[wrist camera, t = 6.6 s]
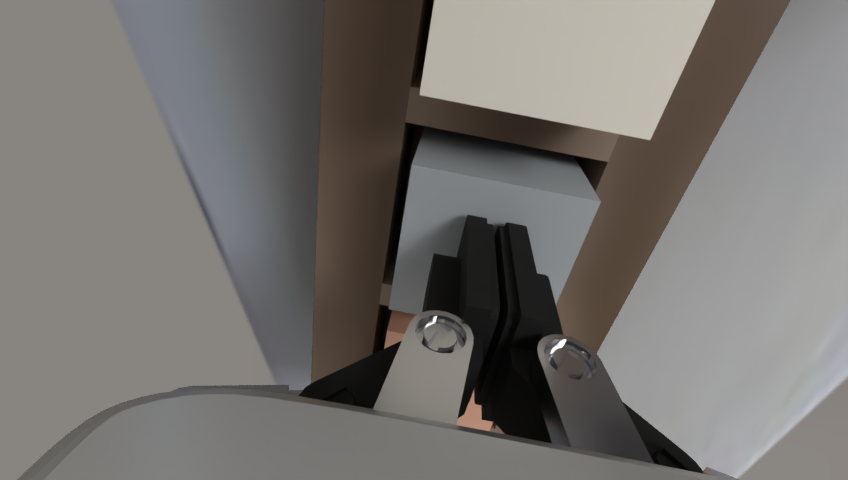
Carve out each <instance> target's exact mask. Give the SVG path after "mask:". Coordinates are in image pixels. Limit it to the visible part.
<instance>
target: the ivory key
mask: <svg viewBox="0 0 848 480" xmlns="http://www.w3.org/2000/svg"><path fill="white" fill-rule="evenodd" d="M714 2H715V0H434V5H433V11H432V18H431V24H430V30H429V37H428V43H427V50H426V56H425V62H424V69H423V75H422V82H421V88H420V95H422V96H427V97H432V98H437V99H442V100H447V101H453V102H458V103H463V104H468V105H473V106H478V107H483V108H488V109H493V110H498V111H504V112H509V113H514V114H519V115H524V116H529V117H534V118H539V119H544V120H549V121H554V122H560V123H565V124H570V125H575V126H580V127H585V128H590V129H595V130H600V131H605V132H610V133H616V134H621V135H626V136H631V137H636V138H641V139H646V140H651V137H652V135H653V133H654V131H655V129H656V127H657V125H658V122H659V120H660V118H661V116H662V114H663V112H664V110H665V107H666V105H667V103H668V101H669V99H670V97H671V95H672V92H673V90H674V88H675V86H676V84H677V82H678V80H679V77H680V75H681V73H682V71H683V69H684V67H685V65H686V62H687V60H688V58H689V56H690V54H691V52H692V50H693V47H694V45H695V43H696V41H697V39H698V37H699V35H700V32H701V30H702V28H703V26H704V24H705V22H706V20H707V17H708V15H709V13H710V11H711V9H712V7H713V5H714Z"/></svg>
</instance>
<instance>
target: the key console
mask: <svg viewBox="0 0 848 480" xmlns="http://www.w3.org/2000/svg"><path fill="white" fill-rule="evenodd" d="M789 2H790V0H715V2H714V5H713V7H712V9H711V11H710V13H709V15H708V17H707V20H706V22H705V24H704V26H703V28H702V30H701V32H700V35H699V37H698V39H697V41H696V43H695V45H694V47H693V50H692V52H691V54H690V56H689V58H688V60H687V62H686V65H685V67H684V69H683V71H682V73H681V75H680V77H679V80H678V82H677V84H676V86H675V88H674V90H673V92H672V95H671V97H670V99H669V101H668V103H667V105H666V107H665V110H664V112H663V114H662V116H661V118H660V120H659V122H658V125H657V127H656V129H655V131H654V133H653V135H652V137H651V140H646V139H641V138H636V137H631V136H626V135H621V134H616V133H610V132H605V131H600V130H595V129H590V128H585V127H580V126H575V125H570V124H565V123H560V122H554V121H549V120H544V119H539V118H534V117H529V116H524V115H519V114H514V113H509V112H504V111H498V110H493V109H488V108H483V107H478V106H473V105H468V104H463V103H458V102H453V101H447V100H442V99H437V98H432V97H427V96H422V95H420V88H421V82H422V75H423V69H424V62H425V56H426V50H427V43H428V37H429V30H430V24H431V18H432V11H433V5H434V0H324V27H323V56H322V85H321V113H320V142H319V171H318V200H317V229H316V258H315V287H314V316H313V345H312V374H311V384H312V383H313V382H315V381H316V380H319V379H321V378H323V377H325V376H327V375H329V374H331V373H334V372H336V371H338V370H340V369H342V368H344V367H346V366H348V365H351V364H353V363H355V362H357V361H359V360H361V359H363V358H366V357H368V356H370V355H372V354H374V353H376V352H378V351H381V350H383V349H384V346H385V340H386V334H387V329H388V325H389V321H390V317H391V313H392V310H390V309H389V303H390V297H391V291H392V284H393V278H394V272H395V266H396V259H397V253H398V247H399V241H400V234H401V228H402V222H403V216H404V209H405V203H406V197H407V190H408V184H409V178H410V172H411V165H412V162H413V159H414V156H415V153H416V151H417V148H418V145H419V142H420V139H421V136H422V133H423V130H424V127H425V126H427V127H432V128H437V129H442V130H447V131H453V132H458V133H463V134H468V135H473V136H478V137H483V138H488V139H493V140H498V141H503V142H509V143H514V144H519V145H524V146H529V147H534V148H539V149H544V150H549V151H554V152H560V153H565V154H570V155H574V157H575V159H576V160H577V162H578V164H579V166H580V167H581V169H582V171H583V172H584V174H585V176H586V177H587V179H588V181H589V182H590V184H591V186H592V187H593V189H594V191H595V192H596V194H597V196H598V198H599V199H600V201H601V203H600V205H599V208H598V210H597V212H596V214H595V217H594V219H593V221H592V224H591V226H590V228H589V230H588V233H587V235H586V237H585V240H584V242H583V244H582V246H581V249H580V251H579V253H578V256H577V258H576V260H575V262H574V265H573V267H572V269H571V272H570V274H569V276H568V278H567V281H566V283H565V285H564V288H563V290H562V292H561V294H560V297H559V299H558V301H557V304H556V307H557V311H558V315H559V319H560V323H561V327H562V331H563V334H564V335H566V336H570V337H573V338H575V339H577V340H580V341H581V342H583V343H584V344H586V345H587V346H589V347H590V348H591V349H592V350H593V351H594V352H595V353H597V351H598V350H599V348H600V346H601V344H602V342H603V341H604V339H605V337H606V335H607V333H608V331H609V330H610V328H611V326H612V324H613V322H614V320H615V319H616V317H617V315H618V313H619V311H620V310H621V308H622V306H623V304H624V302H625V300H626V299H627V297H628V295H629V293H630V291H631V290H632V288H633V286H634V284H635V282H636V280H637V279H638V277H639V275H640V273H641V271H642V269H643V268H644V266H645V264H646V262H647V260H648V259H649V257H650V255H651V253H652V251H653V249H654V248H655V246H656V244H657V242H658V240H659V239H660V237H661V235H662V233H663V231H664V229H665V228H666V226H667V224H668V222H669V220H670V218H671V217H672V215H673V213H674V211H675V209H676V208H677V206H678V204H679V202H680V200H681V198H682V197H683V195H684V193H685V191H686V189H687V188H688V186H689V184H690V182H691V180H692V178H693V177H694V175H695V173H696V171H697V169H698V167H699V166H700V164H701V162H702V160H703V158H704V157H705V155H706V153H707V151H708V149H709V147H710V146H711V144H712V142H713V140H714V138H715V137H716V135H717V133H718V131H719V129H720V127H721V126H722V124H723V122H724V120H725V118H726V116H727V115H728V113H729V111H730V109H731V107H732V106H733V104H734V102H735V100H736V98H737V96H738V95H739V93H740V91H741V89H742V87H743V86H744V84H745V82H746V80H747V78H748V76H749V75H750V73H751V71H752V69H753V67H754V65H755V64H756V62H757V60H758V58H759V56H760V55H761V53H762V51H763V49H764V47H765V45H766V44H767V42H768V40H769V38H770V36H771V35H772V33H773V31H774V29H775V27H776V25H777V24H778V22H779V20H780V18H781V16H782V14H783V13H784V11H785V9H786V7H787V5H788V4H789ZM500 431H501V429H500V428H499V427H498V426H497V425H496V424H495V423H494V422H493V423H492V426H491V428H490V432H495V433H500Z"/></svg>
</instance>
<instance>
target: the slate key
mask: <svg viewBox="0 0 848 480" xmlns="http://www.w3.org/2000/svg"><path fill="white" fill-rule="evenodd" d="M600 203H601V201H600V199H599V198H598V196H597V194H596V192H595V191H594V189H593V187H592V186H591V184H590V182H589V181H588V179H587V177H586V176H585V174H584V172H583V171H582V169H581V167H580V166H579V164H578V162H577V160H576V159H575V157H574V155H570V154H565V153H560V152H554V151H549V150H544V149H539V148H534V147H529V146H524V145H519V144H514V143H509V142H503V141H498V140H493V139H488V138H483V137H478V136H473V135H468V134H463V133H458V132H453V131H447V130H442V129H437V128H432V127H427V126H425V127H424V130H423V133H422V136H421V139H420V142H419V145H418V148H417V151H416V153H415V156H414V159H413V162H412V165H411V172H410V178H409V184H408V190H407V197H406V203H405V209H404V216H403V222H402V228H401V234H400V241H399V247H398V253H397V259H396V266H395V272H394V278H393V284H392V291H391V297H390V303H389V309H390V310H395V311H401V312H406V313H411V314H416V315H418V314H419V313H422V310H423V303H424V298H425V292H426V287H427V282H428V277H429V272H430V268H431V263H432V258H433V254H434V253H436V254H442V255H447V256H452V257H457V253H458V249H459V245H460V241H461V237H462V233H463V229H464V225H465V221H466V218H467V215H473V216H478V217H483V218H487V223H488V224H493V227H494V236H495V233H496V230H497V227H498V226H503V227H504V226H505V224H506V223H507V222H509V223H514V224H519V225H524V226H526V227H527V230H528V235H529V239H530V243H531V248H532V252H533V257H534V261H535V266H536V270H537V273H538V274H544V275H547V276H548V278H549V280H550V284H551V288H552V292H553V296H554V300H555V304H557V301H558V299H559V297H560V294H561V292H562V290H563V288H564V285H565V283H566V281H567V278H568V276H569V274H570V272H571V269H572V267H573V265H574V262H575V260H576V258H577V256H578V253H579V251H580V249H581V246H582V244H583V242H584V240H585V237H586V235H587V233H588V230H589V228H590V226H591V224H592V221H593V219H594V217H595V214H596V212H597V210H598V208H599V205H600Z"/></svg>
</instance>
